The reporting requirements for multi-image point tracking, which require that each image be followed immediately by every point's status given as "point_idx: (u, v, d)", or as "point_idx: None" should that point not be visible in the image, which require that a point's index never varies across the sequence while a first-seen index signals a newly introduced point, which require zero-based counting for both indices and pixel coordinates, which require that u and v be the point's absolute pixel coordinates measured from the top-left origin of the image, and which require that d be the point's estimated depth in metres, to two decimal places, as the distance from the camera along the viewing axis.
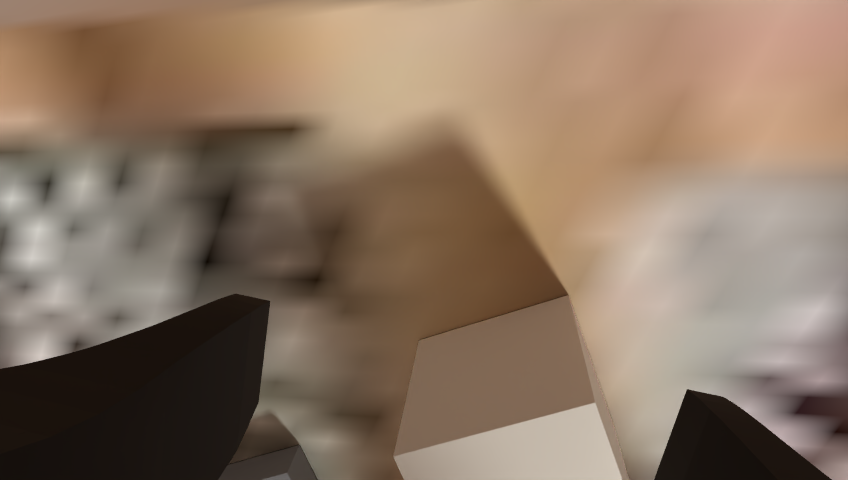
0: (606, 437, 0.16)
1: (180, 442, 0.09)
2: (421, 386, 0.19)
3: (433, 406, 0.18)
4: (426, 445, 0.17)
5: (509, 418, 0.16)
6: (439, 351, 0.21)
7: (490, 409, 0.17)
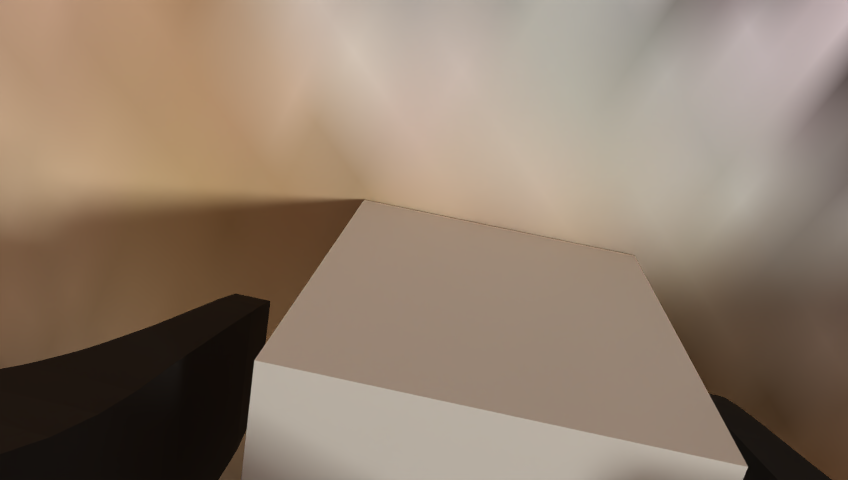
0: (351, 381, 0.07)
1: (180, 442, 0.09)
2: None
3: None
4: None
5: None
6: None
7: None
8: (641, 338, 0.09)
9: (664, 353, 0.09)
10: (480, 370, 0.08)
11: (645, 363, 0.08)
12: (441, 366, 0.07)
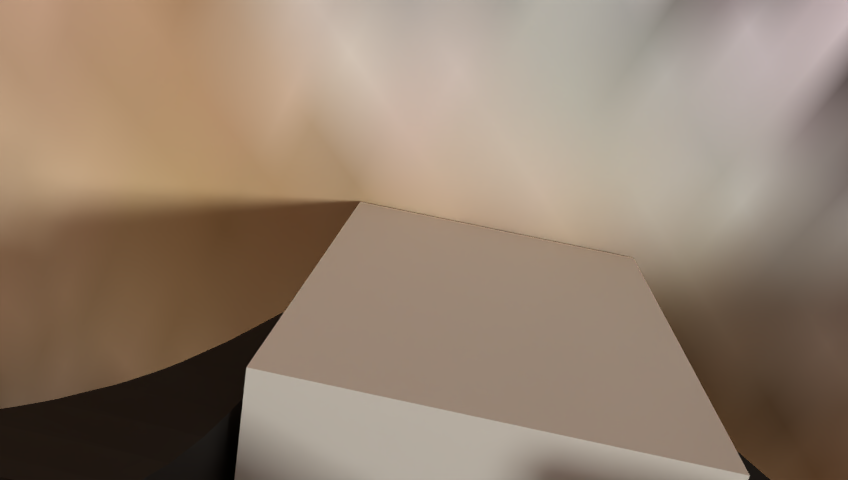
0: (345, 388, 0.07)
1: None
2: None
3: None
4: None
5: None
6: None
7: None
8: (640, 342, 0.09)
9: (664, 358, 0.09)
10: (477, 376, 0.07)
11: (645, 368, 0.08)
12: (437, 372, 0.07)
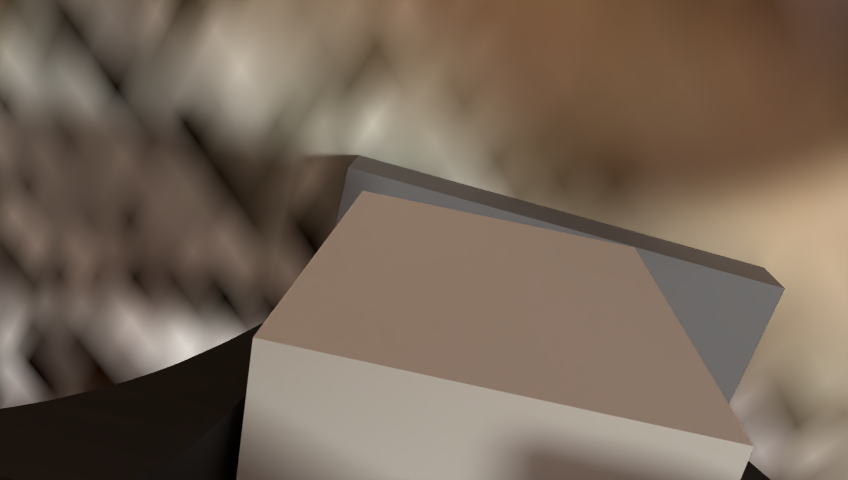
0: (351, 359, 0.07)
1: None
2: None
3: None
4: None
5: None
6: None
7: None
8: (643, 324, 0.09)
9: (666, 338, 0.09)
10: (482, 351, 0.07)
11: (648, 347, 0.08)
12: (442, 346, 0.07)
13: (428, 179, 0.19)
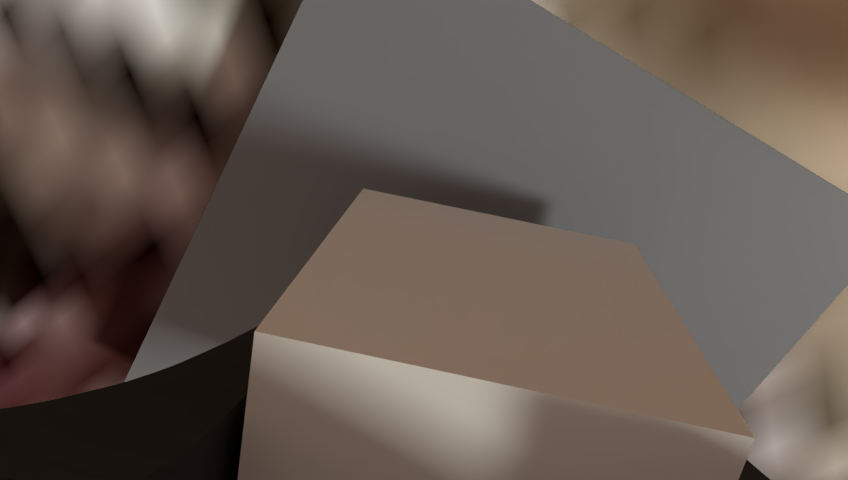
0: (353, 352, 0.07)
1: None
2: None
3: None
4: None
5: None
6: None
7: None
8: (644, 319, 0.09)
9: (667, 333, 0.09)
10: (483, 344, 0.07)
11: (649, 341, 0.08)
12: (443, 340, 0.07)
13: None
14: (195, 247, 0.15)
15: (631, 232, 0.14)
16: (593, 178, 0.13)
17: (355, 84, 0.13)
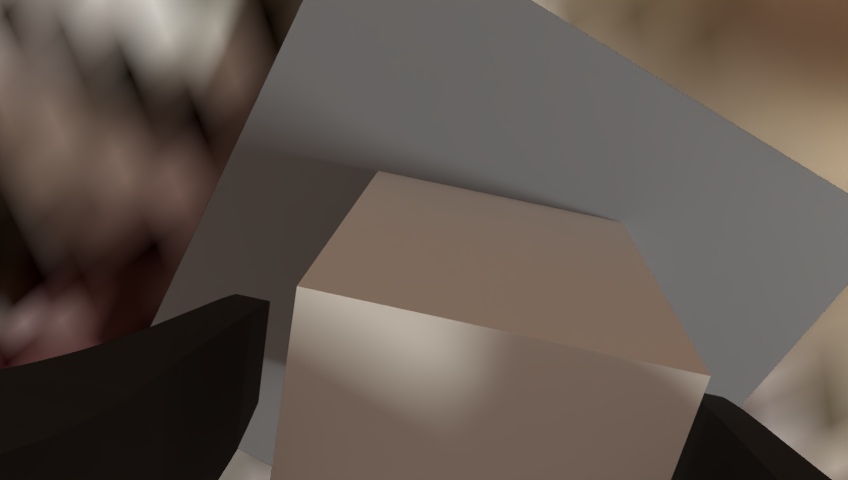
0: (378, 304, 0.08)
1: (180, 442, 0.09)
2: None
3: None
4: None
5: None
6: None
7: None
8: (625, 284, 0.10)
9: (645, 295, 0.10)
10: (486, 300, 0.09)
11: (628, 301, 0.10)
12: (453, 296, 0.09)
13: None
14: (195, 247, 0.15)
15: (631, 232, 0.14)
16: (593, 178, 0.13)
17: (355, 83, 0.13)
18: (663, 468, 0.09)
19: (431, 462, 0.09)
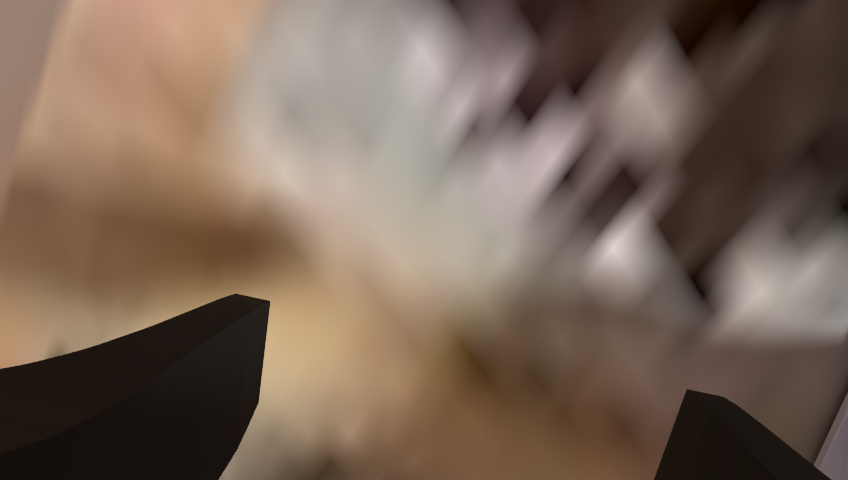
0: None
1: (180, 442, 0.09)
2: None
3: None
4: None
5: None
6: None
7: None
8: None
9: None
10: None
11: None
12: None
13: None
14: None
15: None
16: None
17: None
18: None
19: None
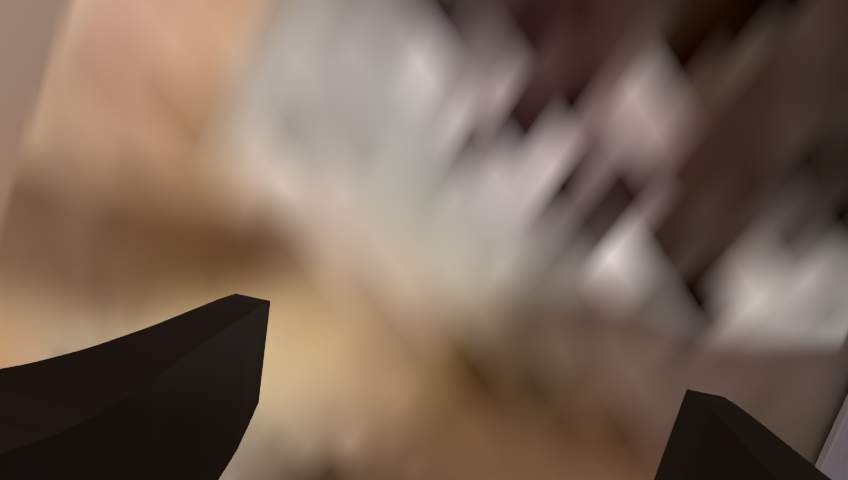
0: None
1: (180, 442, 0.09)
2: None
3: None
4: None
5: None
6: None
7: None
8: None
9: None
10: None
11: None
12: None
13: None
14: None
15: None
16: None
17: None
18: None
19: None
